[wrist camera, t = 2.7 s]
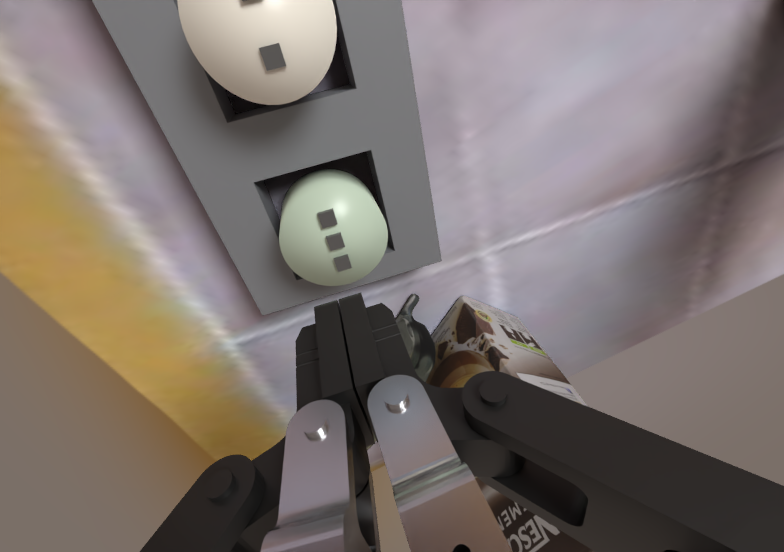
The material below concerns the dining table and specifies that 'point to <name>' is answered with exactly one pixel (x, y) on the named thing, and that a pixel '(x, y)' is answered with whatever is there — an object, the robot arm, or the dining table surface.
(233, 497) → the robot arm
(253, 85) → the cream button
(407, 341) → the mobile phone
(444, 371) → the coffee box
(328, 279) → the sage button
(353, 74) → the button board
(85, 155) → the dining table surface
